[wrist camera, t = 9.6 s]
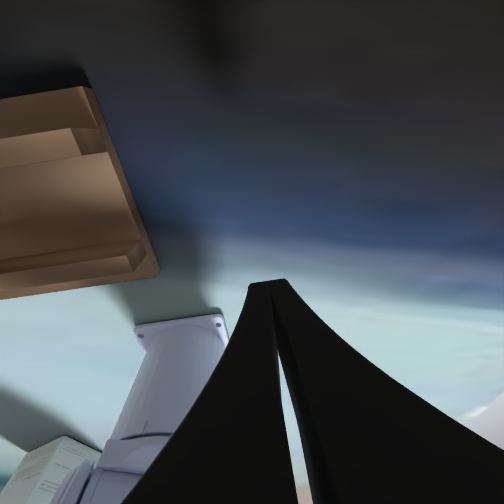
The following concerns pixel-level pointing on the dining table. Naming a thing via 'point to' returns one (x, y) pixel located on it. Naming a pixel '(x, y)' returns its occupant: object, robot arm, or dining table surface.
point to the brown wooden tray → (65, 199)
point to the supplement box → (45, 471)
